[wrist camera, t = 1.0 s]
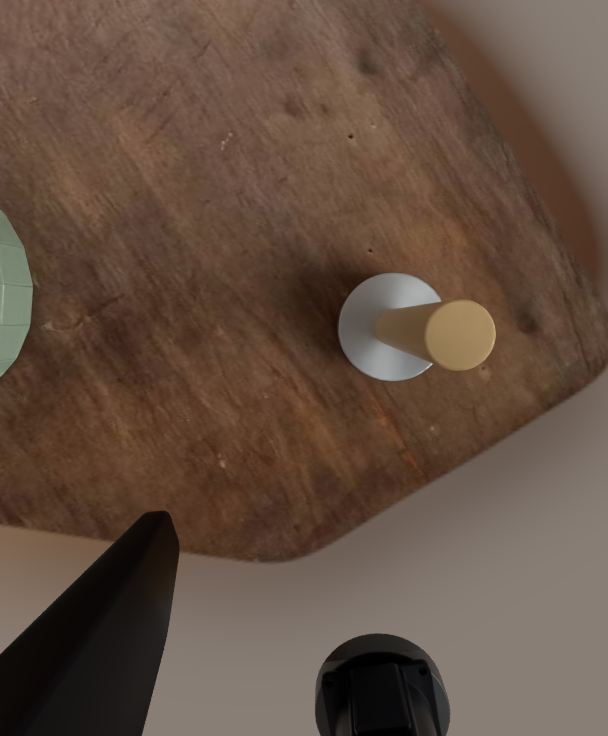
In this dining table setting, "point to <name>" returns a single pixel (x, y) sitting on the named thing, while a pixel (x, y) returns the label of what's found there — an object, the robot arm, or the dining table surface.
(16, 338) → the mixing bowl
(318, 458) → the dining table surface
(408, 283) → the peg on silver base
